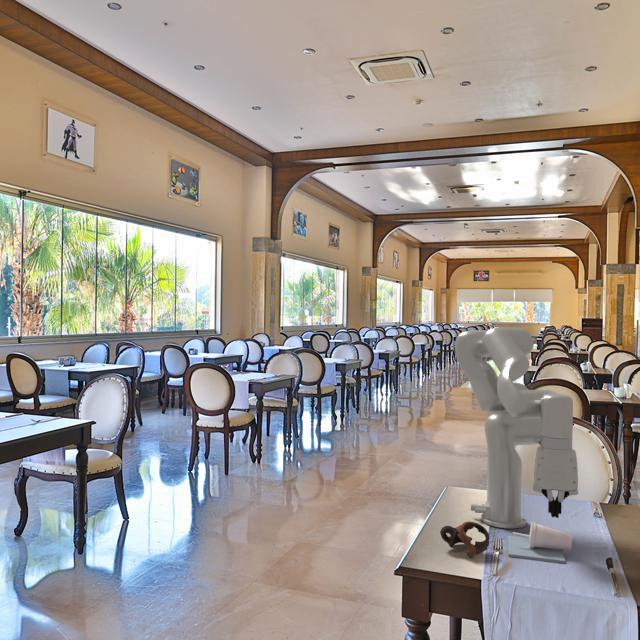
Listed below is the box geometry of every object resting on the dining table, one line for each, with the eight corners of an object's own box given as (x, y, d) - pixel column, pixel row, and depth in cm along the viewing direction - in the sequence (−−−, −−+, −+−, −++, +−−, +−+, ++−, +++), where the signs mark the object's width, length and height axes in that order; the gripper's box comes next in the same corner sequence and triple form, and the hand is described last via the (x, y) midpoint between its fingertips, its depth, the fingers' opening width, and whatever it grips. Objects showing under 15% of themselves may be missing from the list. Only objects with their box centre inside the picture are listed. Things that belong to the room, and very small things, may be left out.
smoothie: (569, 554, 154) (511, 543, 158) (570, 528, 155) (513, 517, 160) (571, 556, 148) (511, 544, 152) (573, 528, 150) (514, 518, 154)
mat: (508, 556, 150) (508, 553, 150) (507, 537, 163) (507, 535, 163) (565, 563, 146) (565, 560, 146) (559, 543, 159) (559, 541, 159)
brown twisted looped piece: (479, 545, 158) (491, 523, 154) (482, 574, 150) (494, 551, 146) (435, 531, 159) (445, 509, 155) (435, 560, 150) (446, 537, 147)
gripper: (525, 443, 152) (524, 517, 152) (590, 448, 148) (588, 524, 147) (524, 438, 159) (522, 508, 159) (586, 442, 155) (584, 514, 155)
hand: (554, 515), depth 153 cm, fingers closed
